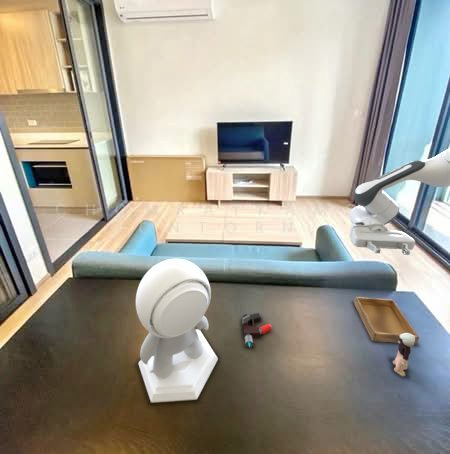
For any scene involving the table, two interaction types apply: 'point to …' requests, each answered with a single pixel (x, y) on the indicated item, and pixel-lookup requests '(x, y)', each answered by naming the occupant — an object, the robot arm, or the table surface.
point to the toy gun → (253, 328)
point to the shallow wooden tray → (383, 319)
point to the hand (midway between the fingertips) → (392, 252)
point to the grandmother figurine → (403, 352)
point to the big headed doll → (174, 331)
